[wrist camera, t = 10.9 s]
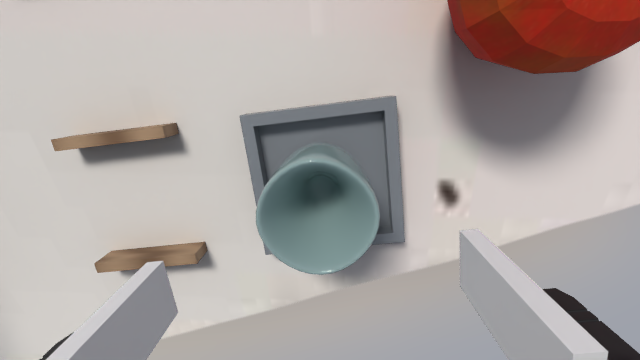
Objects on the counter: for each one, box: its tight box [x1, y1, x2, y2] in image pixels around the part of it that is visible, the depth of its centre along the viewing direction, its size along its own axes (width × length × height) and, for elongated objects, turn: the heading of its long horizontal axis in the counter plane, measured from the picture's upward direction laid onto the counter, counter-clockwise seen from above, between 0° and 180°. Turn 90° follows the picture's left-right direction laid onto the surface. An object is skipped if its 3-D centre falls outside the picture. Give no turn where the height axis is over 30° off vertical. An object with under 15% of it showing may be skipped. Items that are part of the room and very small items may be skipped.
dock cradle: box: [240, 96, 405, 255], centre depth 29 cm, size 13×13×2 cm
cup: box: [256, 142, 380, 275], centre depth 25 cm, size 8×8×10 cm
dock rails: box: [51, 123, 207, 273], centre depth 30 cm, size 10×13×2 cm
